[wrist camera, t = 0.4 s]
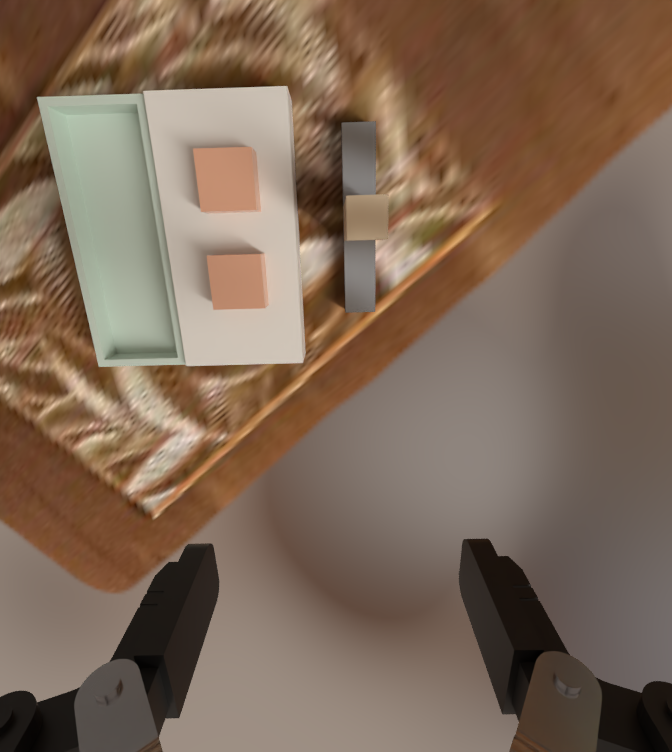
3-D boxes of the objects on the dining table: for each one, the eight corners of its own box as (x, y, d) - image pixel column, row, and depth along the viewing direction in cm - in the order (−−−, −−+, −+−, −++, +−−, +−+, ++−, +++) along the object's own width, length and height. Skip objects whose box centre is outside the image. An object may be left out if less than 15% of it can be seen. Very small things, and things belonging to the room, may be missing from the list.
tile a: (201, 154, 29) (192, 148, 27) (256, 152, 29) (251, 146, 27) (208, 213, 30) (200, 211, 28) (261, 211, 30) (256, 210, 28)
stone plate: (161, 105, 30) (143, 90, 27) (291, 100, 30) (287, 86, 27) (197, 356, 37) (186, 365, 34) (305, 353, 37) (302, 362, 34)
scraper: (341, 129, 31) (344, 80, 22) (373, 129, 31) (390, 78, 22) (345, 308, 35) (348, 332, 26) (372, 308, 35) (386, 331, 26)
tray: (60, 108, 30) (36, 96, 28) (158, 105, 30) (143, 93, 28) (114, 358, 37) (99, 366, 34) (195, 356, 37) (185, 364, 34)
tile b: (213, 254, 31) (206, 255, 29) (264, 253, 31) (260, 254, 29) (219, 306, 32) (213, 309, 31) (268, 304, 32) (265, 308, 30)
